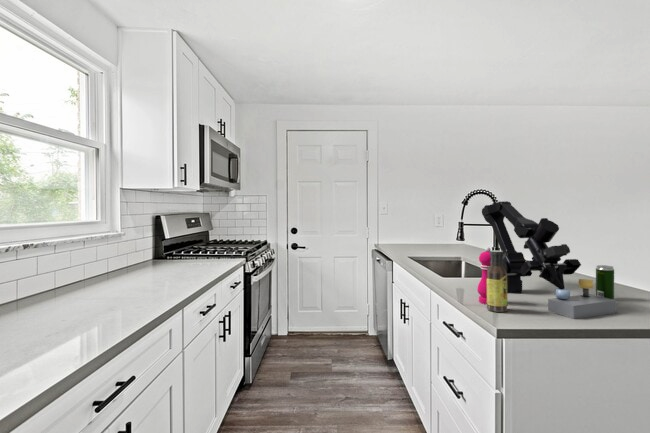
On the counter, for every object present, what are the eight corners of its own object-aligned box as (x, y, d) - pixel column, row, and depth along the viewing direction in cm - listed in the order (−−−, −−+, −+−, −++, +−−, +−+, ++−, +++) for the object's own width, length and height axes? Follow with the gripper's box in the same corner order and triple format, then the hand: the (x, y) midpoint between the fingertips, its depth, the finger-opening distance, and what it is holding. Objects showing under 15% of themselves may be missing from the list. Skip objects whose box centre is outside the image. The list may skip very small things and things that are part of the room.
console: (573, 318, 116) (573, 305, 115) (548, 311, 124) (548, 299, 124) (616, 312, 121) (616, 300, 121) (588, 305, 130) (588, 293, 129)
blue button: (557, 308, 122) (557, 290, 122) (554, 305, 126) (554, 288, 126) (571, 309, 121) (571, 291, 121) (568, 306, 125) (568, 288, 124)
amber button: (580, 298, 125) (580, 280, 125) (577, 295, 129) (577, 278, 129) (594, 299, 124) (594, 281, 124) (590, 296, 128) (590, 279, 127)
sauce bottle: (508, 313, 122) (507, 252, 122) (487, 312, 125) (486, 251, 124) (506, 308, 128) (506, 250, 128) (486, 307, 130) (486, 249, 130)
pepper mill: (498, 300, 139) (497, 246, 138) (500, 305, 132) (500, 248, 131) (476, 299, 141) (476, 245, 140) (478, 304, 134) (477, 248, 134)
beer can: (610, 301, 134) (610, 268, 133) (593, 298, 138) (593, 266, 138) (616, 299, 137) (616, 266, 136) (599, 296, 141) (599, 264, 141)
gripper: (525, 237, 127) (548, 275, 116) (577, 235, 129) (603, 273, 118) (511, 257, 135) (531, 295, 125) (560, 255, 137) (584, 292, 126)
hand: (562, 288), depth 123 cm, fingers closed, pressing on blue button
